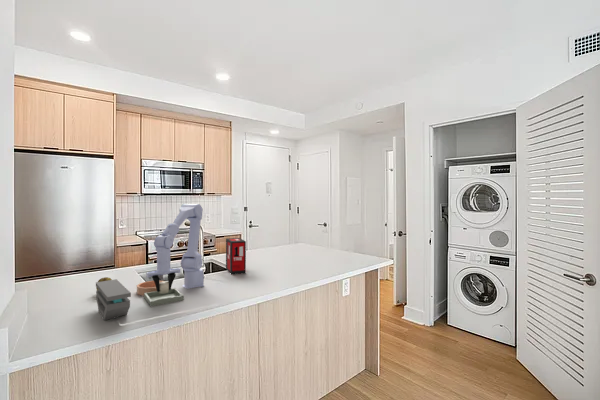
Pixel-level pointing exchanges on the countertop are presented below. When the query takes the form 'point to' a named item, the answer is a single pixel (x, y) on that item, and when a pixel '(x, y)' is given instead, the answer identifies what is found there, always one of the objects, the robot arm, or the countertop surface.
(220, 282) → the countertop surface
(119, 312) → the grey storage case
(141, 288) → the bowl
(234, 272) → the cleaning product box
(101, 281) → the potato
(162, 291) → the cream rounded capsule
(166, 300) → the parts tray
